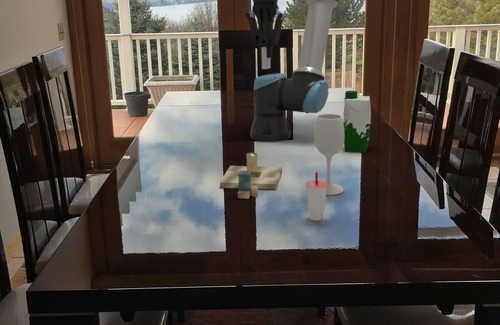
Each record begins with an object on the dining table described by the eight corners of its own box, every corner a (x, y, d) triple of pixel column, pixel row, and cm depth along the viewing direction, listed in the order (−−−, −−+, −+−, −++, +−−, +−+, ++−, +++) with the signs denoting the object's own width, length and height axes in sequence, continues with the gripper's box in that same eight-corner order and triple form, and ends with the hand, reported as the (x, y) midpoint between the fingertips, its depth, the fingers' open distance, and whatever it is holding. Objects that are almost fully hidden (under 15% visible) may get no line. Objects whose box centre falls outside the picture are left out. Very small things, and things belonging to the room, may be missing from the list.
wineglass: (346, 186, 174) (348, 113, 168) (340, 196, 166) (342, 120, 160) (316, 183, 177) (317, 112, 171) (309, 193, 169) (310, 118, 163)
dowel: (249, 195, 168) (248, 186, 168) (255, 194, 170) (254, 185, 169) (253, 197, 167) (252, 188, 166) (259, 196, 168) (259, 187, 167)
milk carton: (343, 145, 216) (344, 89, 210) (369, 146, 214) (371, 89, 208) (341, 152, 208) (343, 93, 202) (369, 153, 206) (371, 94, 200)
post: (245, 179, 182) (244, 153, 179) (253, 177, 183) (253, 152, 181) (250, 182, 179) (250, 156, 177) (259, 180, 181) (258, 154, 178)
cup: (311, 223, 149) (312, 176, 145) (301, 216, 153) (301, 170, 150) (331, 220, 151) (332, 173, 147) (320, 212, 155) (320, 167, 152)
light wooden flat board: (214, 197, 167) (213, 174, 165) (230, 170, 190) (229, 150, 188) (272, 199, 165) (272, 176, 163) (282, 172, 187) (282, 152, 186)
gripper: (239, -11, 183) (241, 68, 190) (278, -11, 176) (278, 71, 183) (253, -12, 189) (254, 65, 196) (290, -12, 182) (290, 68, 189)
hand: (266, 68), depth 189 cm, fingers closed
